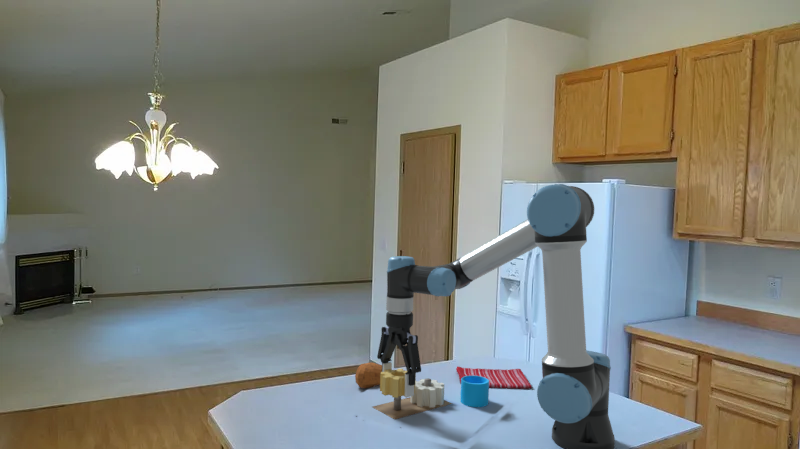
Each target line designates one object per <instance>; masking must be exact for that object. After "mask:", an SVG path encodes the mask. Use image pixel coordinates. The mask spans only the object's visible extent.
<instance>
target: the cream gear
mask: <svg viewBox="0 0 800 449" xmlns="http://www.w3.org/2000/svg"><path fill="white" fill-rule="evenodd" d="M424 379H425V378H423V379H419V380H418V381H417V380H416V384H415V394H414V396H410V397H411V398H410V402H411V403H416V404H417V406H419V407H423V406H429V407H430V408H432V407H435V405H440V406H441V405H443V404H444V400H445V383H444V382H439V381H438V380H436V379H431V387H425V386H424Z"/></svg>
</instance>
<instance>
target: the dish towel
mask: <svg viewBox="0 0 800 449" xmlns="http://www.w3.org/2000/svg"><path fill="white" fill-rule="evenodd" d="M455 370H456V373H457V374H458V379H459V383H460V385H461V378H462V377H464V376H481V377H485V378H487V379H488V380H489V389H506V388H507V389H508V390H509V389H510V390H513V389H514V390H529V389H530V390H532V388H533V386H532V385H531V383H530V382H529V380H528V378H527V376H525V374H524V372H523V371H522V369H521V368H510V369H499V368H498V369H496V368H495V369H493V368H492V369H491V368H488V369H487V368H471V367H462V366H456V368H455ZM507 389H506V390H507Z"/></svg>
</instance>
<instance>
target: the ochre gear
mask: <svg viewBox="0 0 800 449" xmlns="http://www.w3.org/2000/svg"><path fill="white" fill-rule="evenodd" d="M406 372H407V370H405V369H404V368H397V369H392V370H391V369H387V370H386V372H381V373H380V385H379V392H381V395H383V396H385V397H386V396H391V398H394V397H395V398H398V397H399V396H401V397H405V373H406ZM416 374H417V373H416ZM416 374H415V384H416V381H417V380H416V379H417V378H416V377H417V375H416ZM414 394H415V385H414Z"/></svg>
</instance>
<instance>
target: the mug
mask: <svg viewBox="0 0 800 449" xmlns="http://www.w3.org/2000/svg"><path fill="white" fill-rule="evenodd" d="M489 392H490V388H489V380H488V379H487V378H485V377H481V376H464V377H462V378H461V384H460V403H461V404H463V406H466V407H471V408H484V407H486V406H488V405H489V395H490V394H489Z"/></svg>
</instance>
